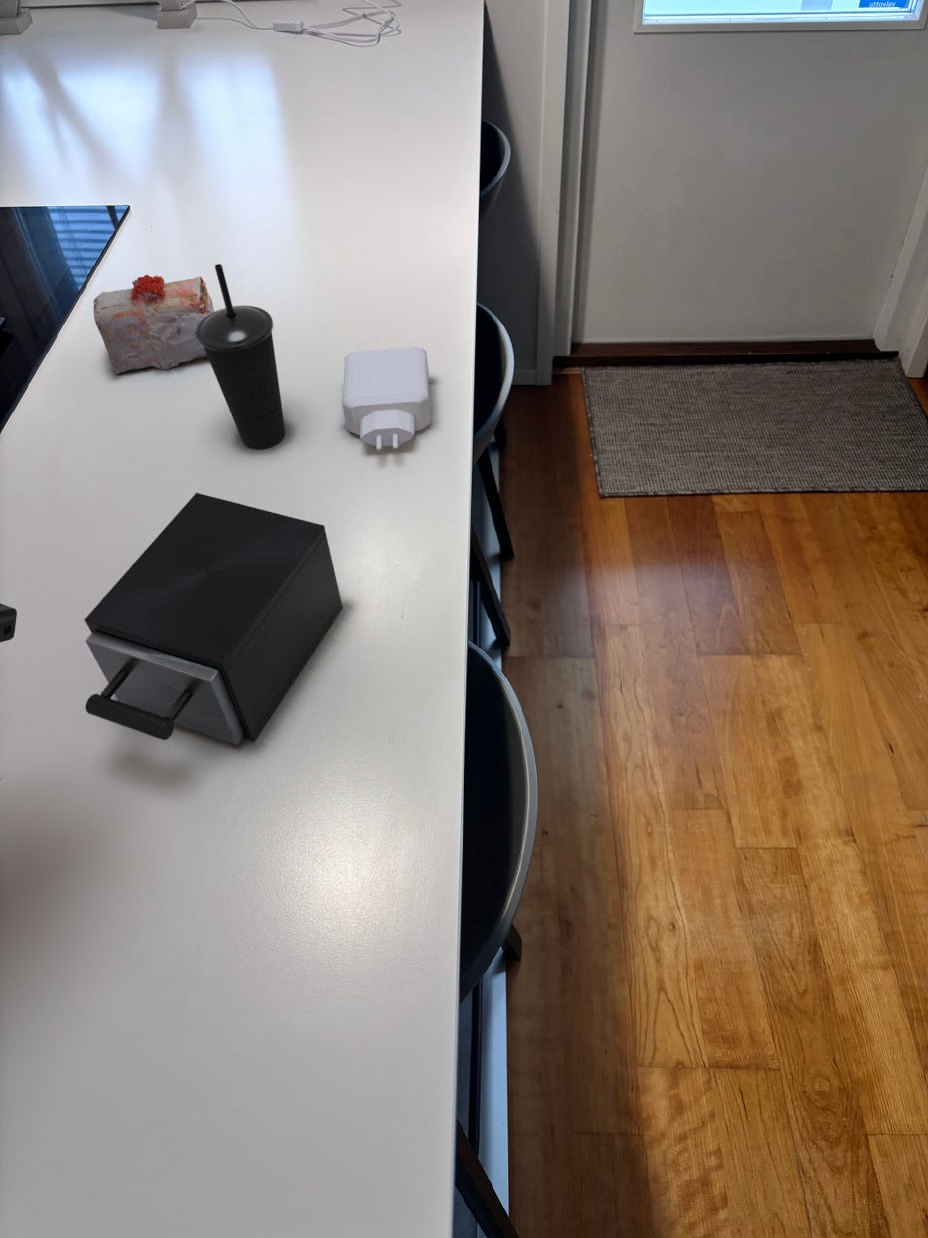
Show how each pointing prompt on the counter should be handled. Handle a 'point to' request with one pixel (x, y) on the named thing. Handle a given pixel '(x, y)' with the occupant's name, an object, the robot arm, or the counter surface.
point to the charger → (386, 395)
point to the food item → (153, 322)
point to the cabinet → (230, 599)
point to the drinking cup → (245, 368)
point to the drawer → (160, 691)
